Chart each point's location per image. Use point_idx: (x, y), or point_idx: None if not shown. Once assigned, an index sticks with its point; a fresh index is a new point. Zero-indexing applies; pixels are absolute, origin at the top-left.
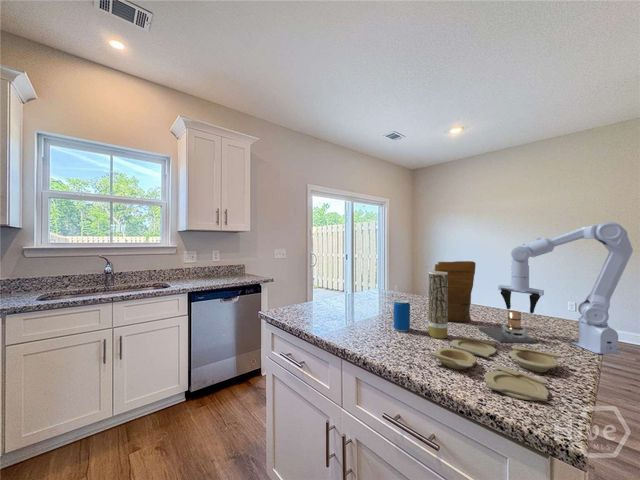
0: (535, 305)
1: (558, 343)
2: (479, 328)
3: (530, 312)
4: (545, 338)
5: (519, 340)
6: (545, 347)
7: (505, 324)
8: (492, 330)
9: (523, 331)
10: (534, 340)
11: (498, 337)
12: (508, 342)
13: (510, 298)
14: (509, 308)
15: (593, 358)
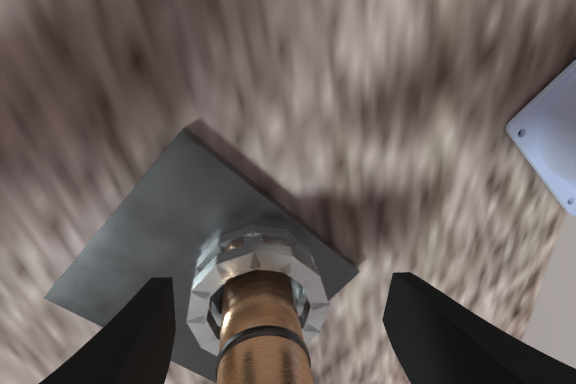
0: (485, 327)
1: (444, 180)
2: (58, 300)
3: (389, 326)
4: (390, 138)
5: None
6: None
7: (195, 292)
8: (136, 290)
9: (315, 331)
10: (352, 277)
11: (212, 371)
12: None
13: (115, 380)
14: (173, 311)
15: (536, 275)
